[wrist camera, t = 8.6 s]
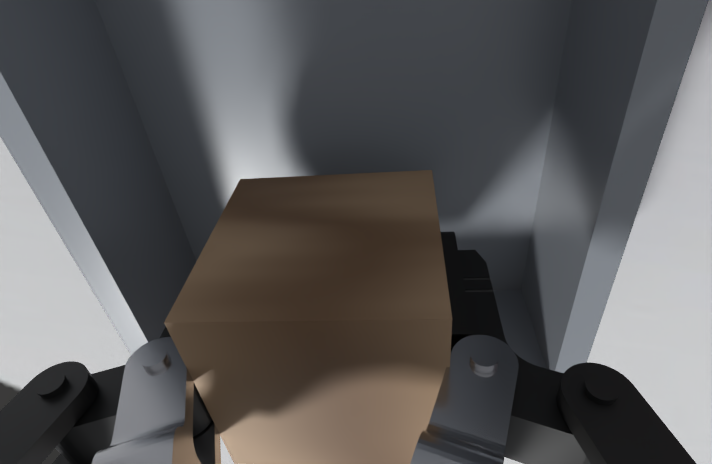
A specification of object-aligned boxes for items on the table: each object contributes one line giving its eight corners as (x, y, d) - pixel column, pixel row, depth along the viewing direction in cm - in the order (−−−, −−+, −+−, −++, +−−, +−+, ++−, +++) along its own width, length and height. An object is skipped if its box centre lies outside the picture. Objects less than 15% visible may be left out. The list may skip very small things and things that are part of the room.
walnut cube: (276, 311, 15) (234, 463, 11) (240, 178, 12) (163, 322, 8) (430, 308, 14) (444, 468, 10) (432, 169, 11) (452, 319, 7)
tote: (204, 292, 19) (155, 396, 15) (-51, -351, 9) (-405, -543, 5) (534, 286, 18) (574, 399, 14) (686, -488, 8) (1014, -912, 4)
